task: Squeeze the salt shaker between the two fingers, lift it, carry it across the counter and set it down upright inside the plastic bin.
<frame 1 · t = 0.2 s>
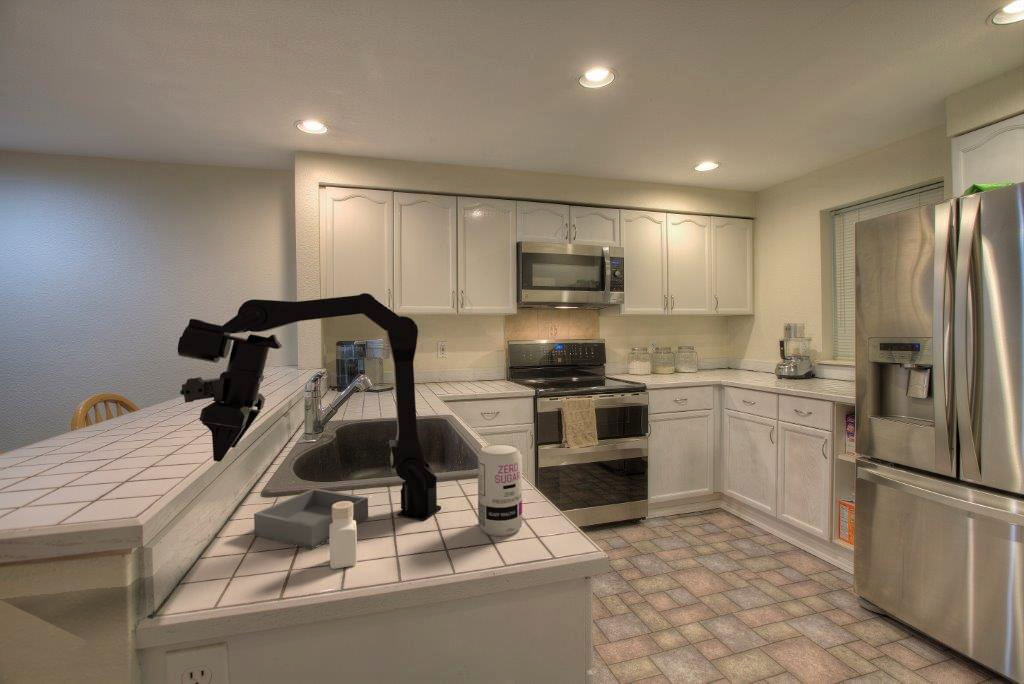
hand: (224, 453, 82), 15 cm above the counter, tool pointing down, fingers open, 9 cm apart
supplement can: (500, 528, 87), on the counter
salt shaker: (343, 563, 74), on the counter
bin: (313, 526, 88), on the counter
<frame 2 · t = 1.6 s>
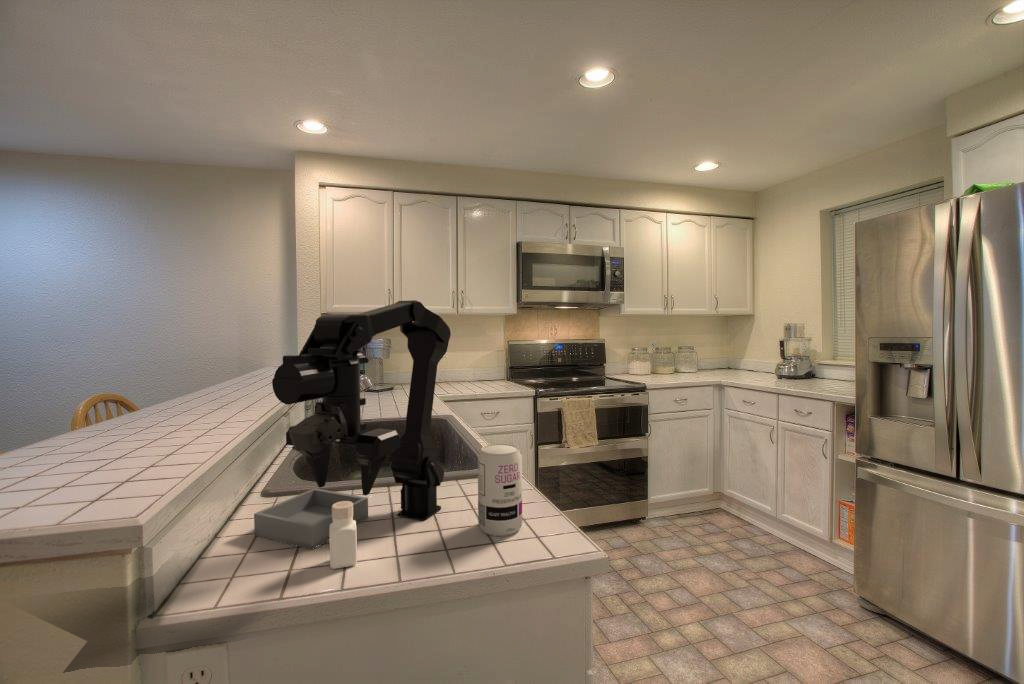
hand: (343, 490, 74), 12 cm above the counter, tool pointing down, fingers open, 9 cm apart
nothing on the counter moved.
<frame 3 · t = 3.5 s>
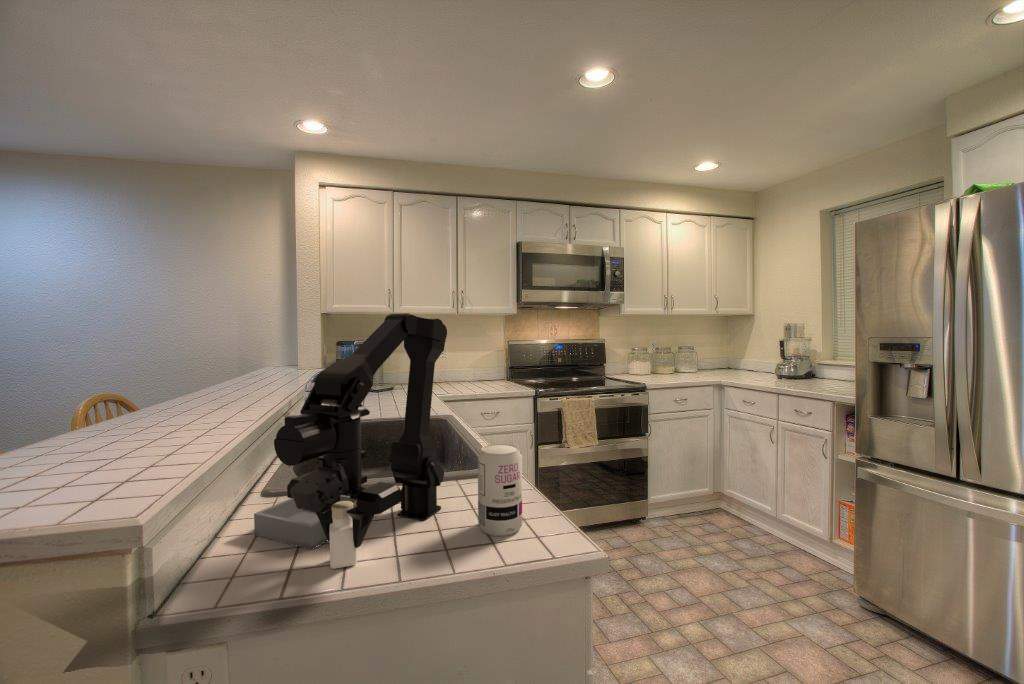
hand: (344, 543, 74), 3 cm above the counter, tool pointing down, fingers closed on salt shaker, 5 cm apart
salt shaker: (343, 563, 74), on the counter, touching gripper
everything else where it was.
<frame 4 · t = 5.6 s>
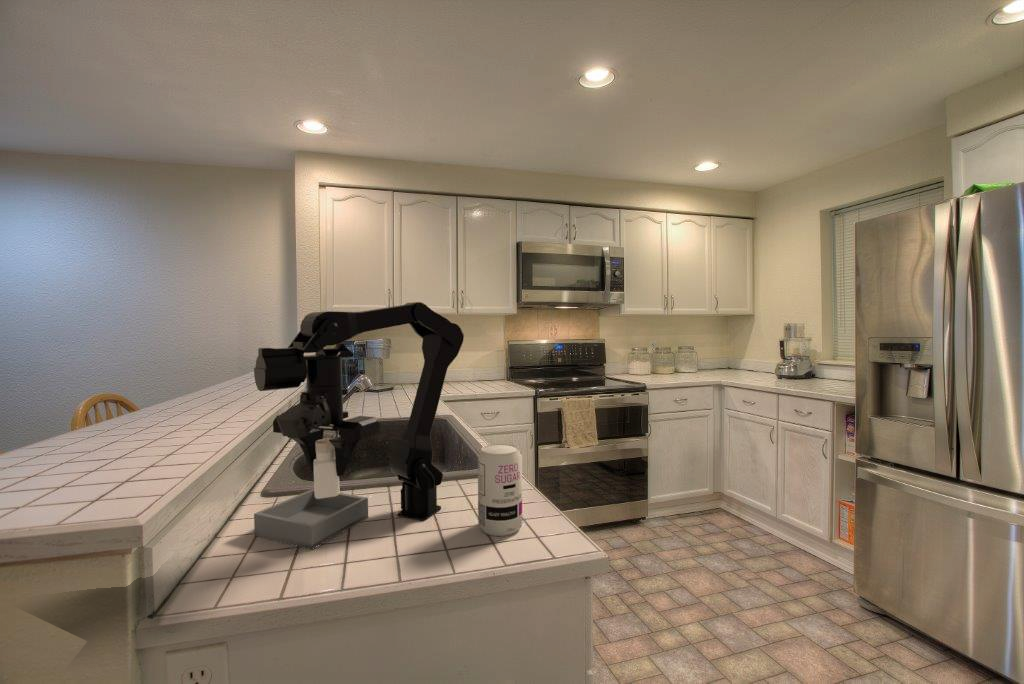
hand: (327, 473, 80), 12 cm above the counter, tool pointing down, fingers closed on salt shaker, 5 cm apart
salt shaker: (327, 495, 80), point 9 cm above the counter, touching gripper
everything else where it was.
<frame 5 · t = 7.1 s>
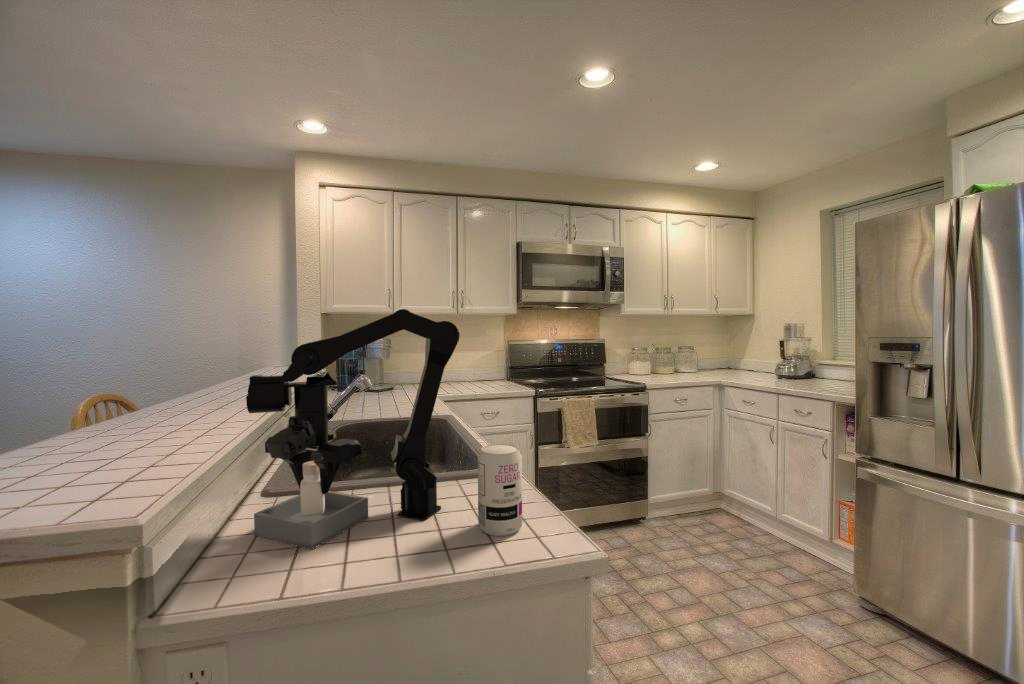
hand: (313, 491, 87), 7 cm above the counter, tool pointing down, fingers closed on salt shaker, 5 cm apart
salt shaker: (313, 513, 87), point 2 cm above the counter, touching gripper
everything else where it was.
when the fingers open (5 cm above the counter, at t = 8.3 s): salt shaker stays where it is, resting on bin.
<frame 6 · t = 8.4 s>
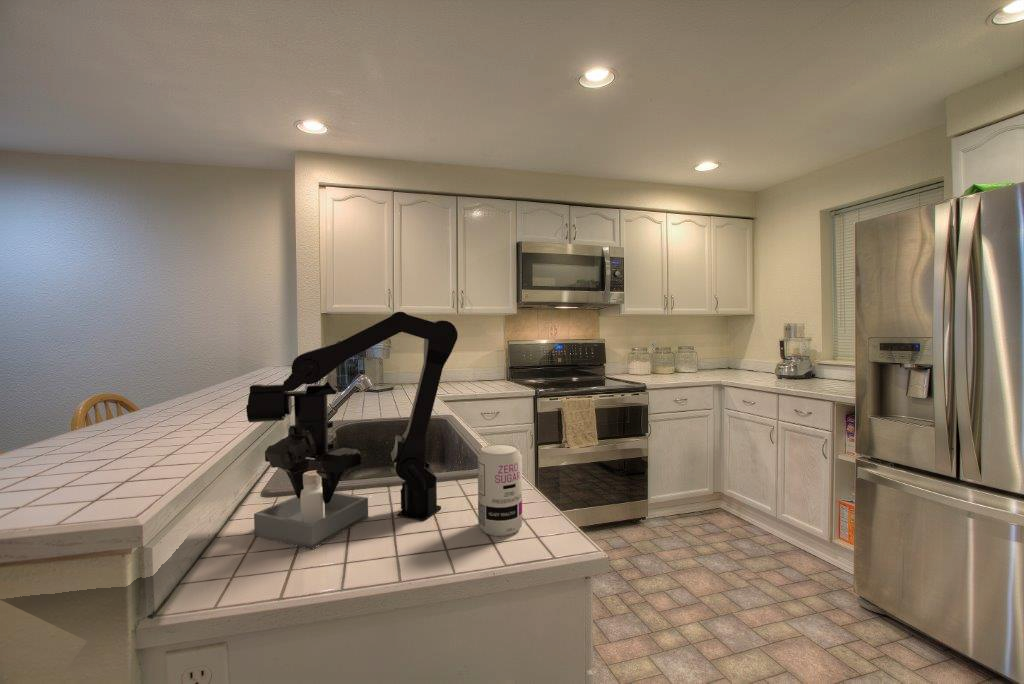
hand: (313, 500, 88), 5 cm above the counter, tool pointing down, fingers open, 6 cm apart
salt shaker: (313, 523, 87), point 1 cm above the counter, touching bin
everything else where it was.
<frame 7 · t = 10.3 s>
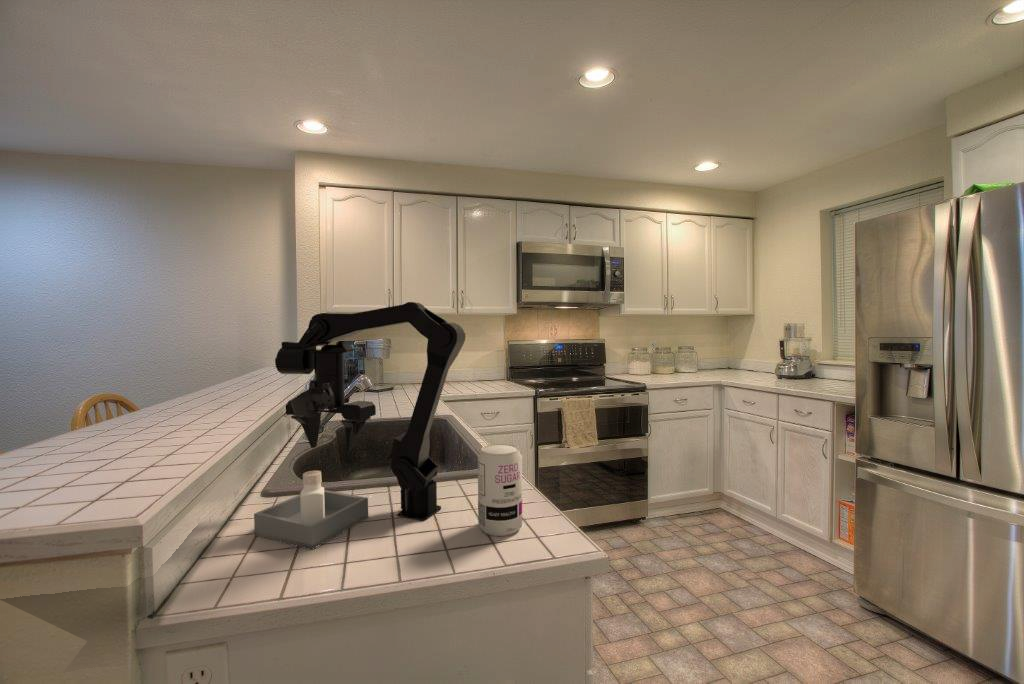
hand: (331, 449, 96), 12 cm above the counter, tool pointing down, fingers open, 9 cm apart
nothing on the counter moved.
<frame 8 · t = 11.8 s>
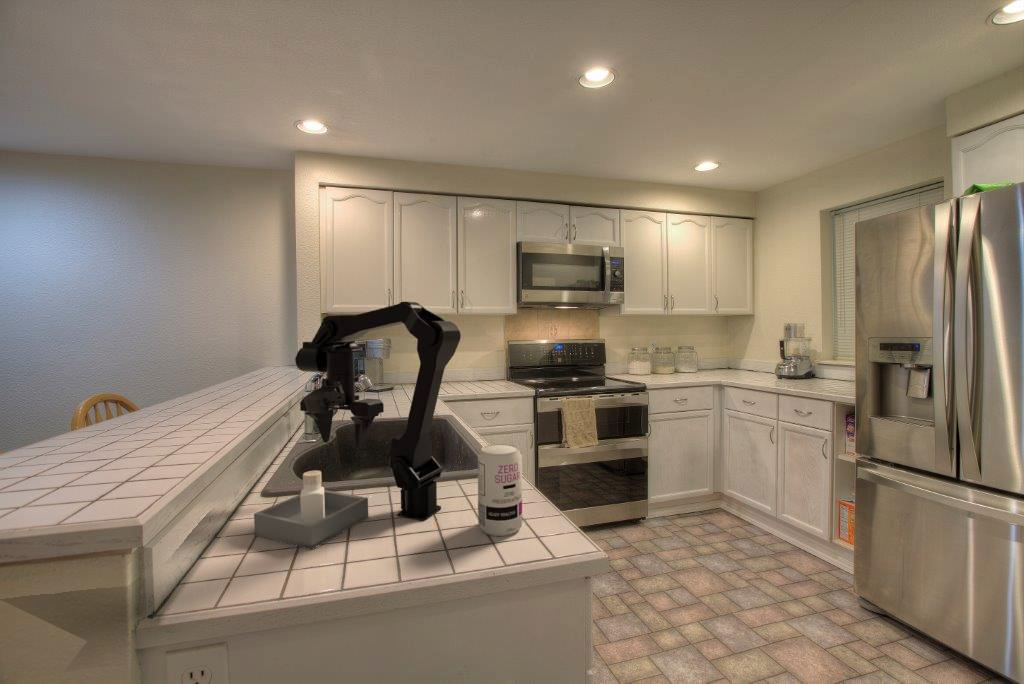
hand: (342, 444, 101), 12 cm above the counter, tool pointing down, fingers open, 9 cm apart
nothing on the counter moved.
at the end: salt shaker inside the target area on the bin (0.2 cm from its centre), point 0.6 cm above the bin's base; salt shaker tilted 0°; the gripper is holding nothing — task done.
